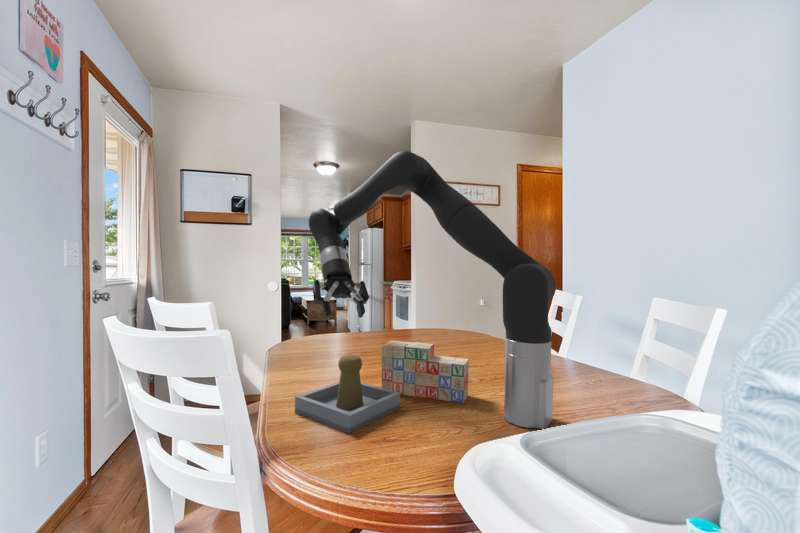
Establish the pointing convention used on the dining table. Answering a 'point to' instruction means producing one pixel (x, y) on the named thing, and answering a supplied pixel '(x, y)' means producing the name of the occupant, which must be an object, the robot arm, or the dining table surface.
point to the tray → (325, 411)
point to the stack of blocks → (423, 372)
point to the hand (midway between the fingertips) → (345, 316)
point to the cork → (349, 383)
